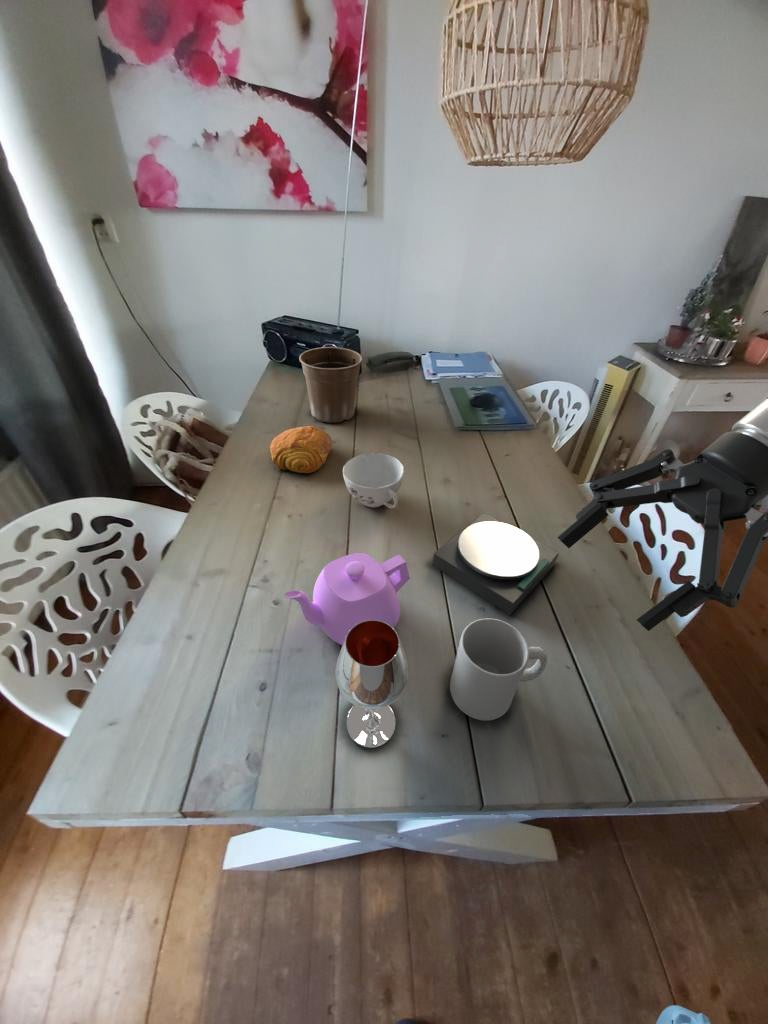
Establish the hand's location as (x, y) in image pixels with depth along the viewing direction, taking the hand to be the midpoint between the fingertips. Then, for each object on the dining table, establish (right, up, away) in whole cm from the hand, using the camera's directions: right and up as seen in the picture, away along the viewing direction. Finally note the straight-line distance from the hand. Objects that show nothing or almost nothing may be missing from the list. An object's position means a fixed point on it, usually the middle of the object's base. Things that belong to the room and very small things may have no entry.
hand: (598, 580), depth 52 cm
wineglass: (-27, -20, +5) cm, 34 cm away
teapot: (-31, -9, +18) cm, 37 cm away
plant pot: (-40, +36, +72) cm, 90 cm away
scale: (-6, -1, +28) cm, 28 cm away
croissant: (-46, +21, +54) cm, 74 cm away
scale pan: (-6, +1, +25) cm, 26 cm away
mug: (-11, -17, +9) cm, 22 cm away
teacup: (-27, +10, +41) cm, 50 cm away
